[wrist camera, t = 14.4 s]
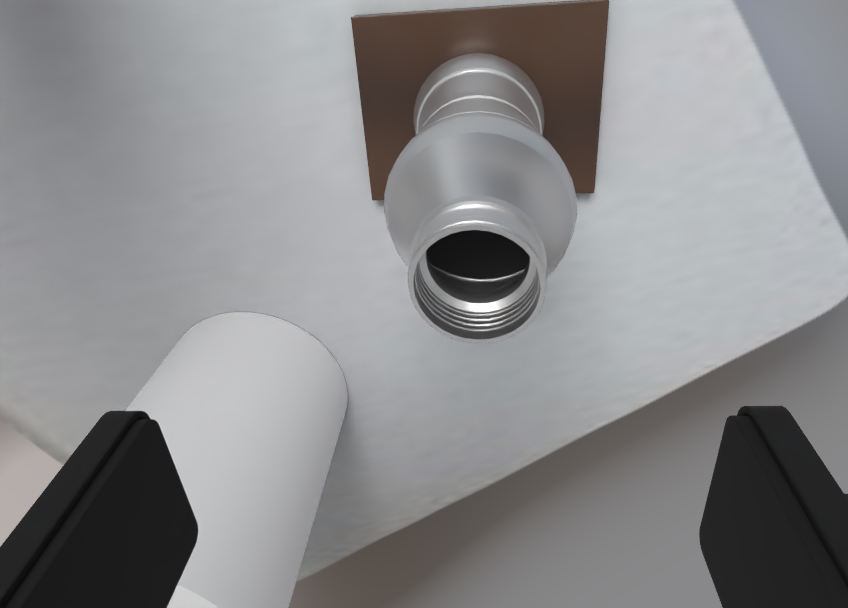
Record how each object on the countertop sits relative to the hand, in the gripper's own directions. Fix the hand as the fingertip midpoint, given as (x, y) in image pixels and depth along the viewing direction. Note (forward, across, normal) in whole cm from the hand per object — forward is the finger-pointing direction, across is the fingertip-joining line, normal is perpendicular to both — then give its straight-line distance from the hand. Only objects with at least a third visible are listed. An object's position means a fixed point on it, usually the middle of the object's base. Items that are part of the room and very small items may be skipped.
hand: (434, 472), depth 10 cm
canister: (+28, +16, +20) cm, 38 cm away
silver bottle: (+27, -1, 0) cm, 27 cm away
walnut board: (+28, -1, 0) cm, 28 cm away
